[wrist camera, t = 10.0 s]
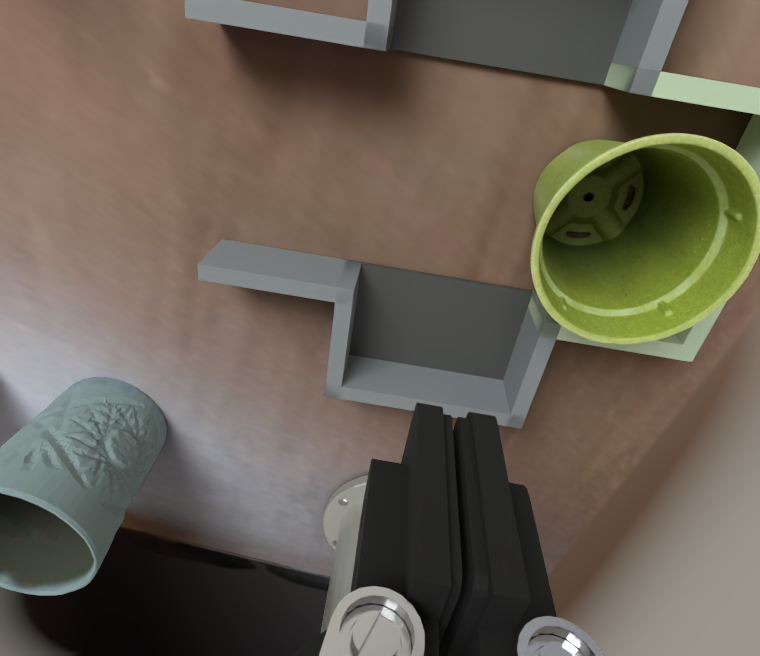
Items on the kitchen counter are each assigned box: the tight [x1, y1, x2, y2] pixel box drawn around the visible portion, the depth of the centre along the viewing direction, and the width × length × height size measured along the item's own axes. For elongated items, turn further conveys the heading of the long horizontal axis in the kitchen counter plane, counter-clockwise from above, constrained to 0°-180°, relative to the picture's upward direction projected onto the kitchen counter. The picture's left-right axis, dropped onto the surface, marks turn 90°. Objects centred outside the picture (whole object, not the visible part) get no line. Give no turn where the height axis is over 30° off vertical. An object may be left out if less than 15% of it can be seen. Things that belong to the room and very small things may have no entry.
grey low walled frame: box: [185, 0, 760, 429], centre depth 27 cm, size 28×29×4 cm
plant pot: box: [530, 133, 760, 345], centre depth 25 cm, size 9×9×9 cm
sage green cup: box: [0, 377, 167, 595], centre depth 35 cm, size 10×10×12 cm
